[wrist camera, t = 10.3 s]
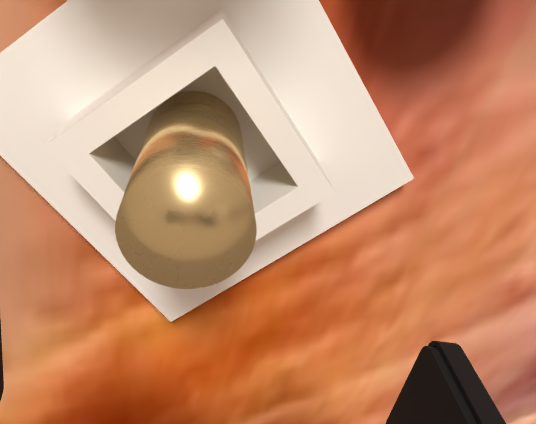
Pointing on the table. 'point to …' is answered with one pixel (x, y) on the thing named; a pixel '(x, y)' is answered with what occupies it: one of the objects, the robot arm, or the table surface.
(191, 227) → the cylinder
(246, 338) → the table surface
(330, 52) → the flange socket
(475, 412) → the robot arm
